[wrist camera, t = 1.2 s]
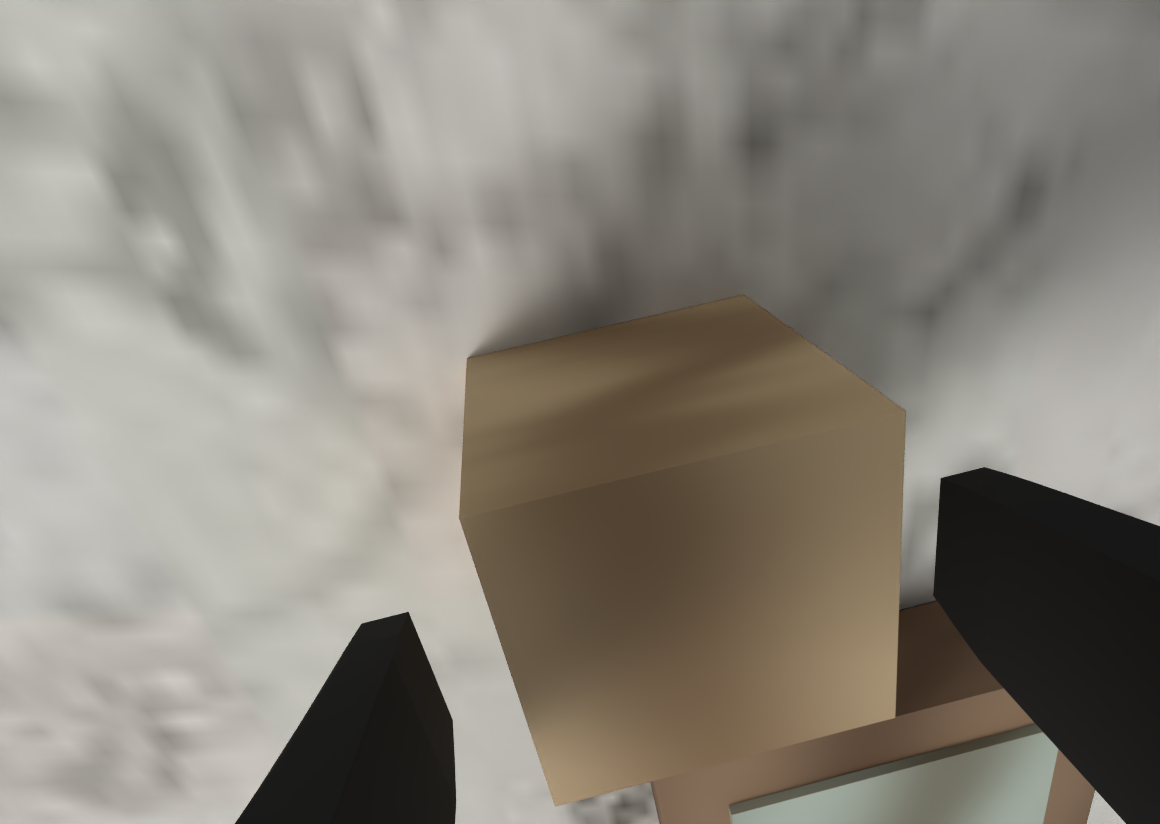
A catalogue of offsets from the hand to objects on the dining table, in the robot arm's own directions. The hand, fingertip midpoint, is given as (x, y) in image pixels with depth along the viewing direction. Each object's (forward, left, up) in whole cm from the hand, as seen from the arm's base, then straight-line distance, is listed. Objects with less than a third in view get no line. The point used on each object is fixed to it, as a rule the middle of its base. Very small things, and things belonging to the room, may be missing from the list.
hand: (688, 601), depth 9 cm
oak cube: (0, 0, -4) cm, 4 cm away
